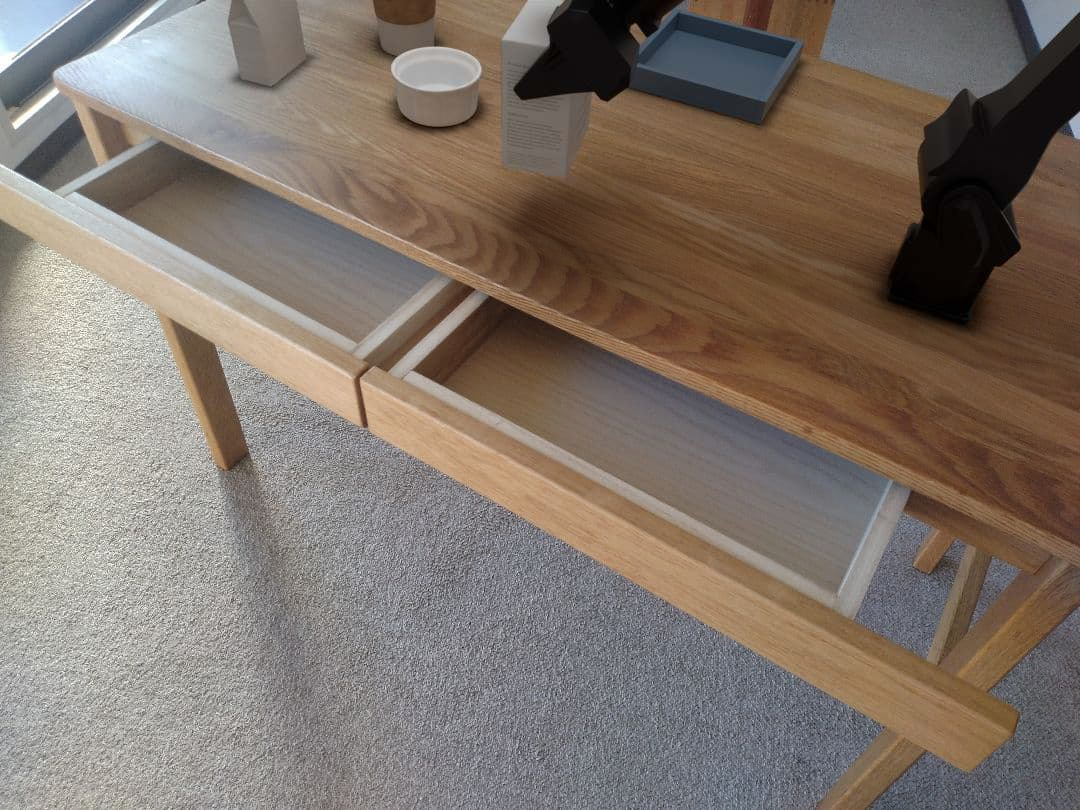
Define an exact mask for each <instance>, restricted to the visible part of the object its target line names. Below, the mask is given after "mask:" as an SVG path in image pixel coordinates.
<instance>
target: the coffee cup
mask: <svg viewBox="0 0 1080 810" xmlns="http://www.w3.org/2000/svg"><path fill="white" fill-rule="evenodd" d="M372 5H373V9H374V14H375V18H376V24H377V30H378V35H379V42H380V46H381V48H382V50H383V51H384V52H385V53H387V54H390V55H392V56H396V57H398V56H399V55H401V54H403V53H405V52H407V51H410V50H413V49H417V48H423V47H435V20H436V19H435V17H436V7H437V6H436V5H437V0H372Z"/></svg>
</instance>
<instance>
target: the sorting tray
mask: <svg viewBox="0 0 1080 810" xmlns="http://www.w3.org/2000/svg"><path fill="white" fill-rule="evenodd" d="M805 43H806V41H805V40H802V39H797V38H795V37H794V38H793V37H789V36H786V35H782V34H777V33H774V32H770V31H765V30H761V29H758V28H754V27H750V26H746V25H742V24H739V23H735V22H730V21H726V20H722V19H718V18H715V17H711V16H706V15H702V14H698V13H695V12H690V11H686V10H682V9H679V8H676V7H675V8H674V9H673V10H671V11H670V12H669V13H668V14H667V16H666V17H665V18H663V19H662V21H661V24H660V27H659V29H658V30H657V31H656V32H654V33H653V34H652V35H650V36H649V37H648V38H646V37H645V38H644V40H643V42H641V43H640V49H639V57H638V64H637V67H636V69H635V72H634V75H633V77H632V80H631V83H630V85H629V87H628V88H630V89H633V90H637V91H640V92H644V93H647V94H650V95H654V96H657V97H662V98H665V99H669V100H671V101H675V102H679V103H682V104H687V105H689V106H693V107H697V108H701V109H704V110H708V111H712V112H714V113H718V114H722V115H725V116H729V117H733V118H735V119H740V120H743V121H747V122H750V123H754V124H757V125H761V124H762V122H763V121H764V119H765V118H766V116H767V114H768V113H769V111H770V109H771V108H772V106H773V105H774V103H775V101H776V100H777V98H778V97H779V95H780V93H781V92H782V91H783V89H784V87H785V86H786V84H787V83H788V81H789V79H790V77H791V76H792V75H793V72H794V71H795V69H796V68H797V66H798V64H799V63H800V60H801V57H802V53H803V50H804V46H805Z"/></svg>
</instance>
